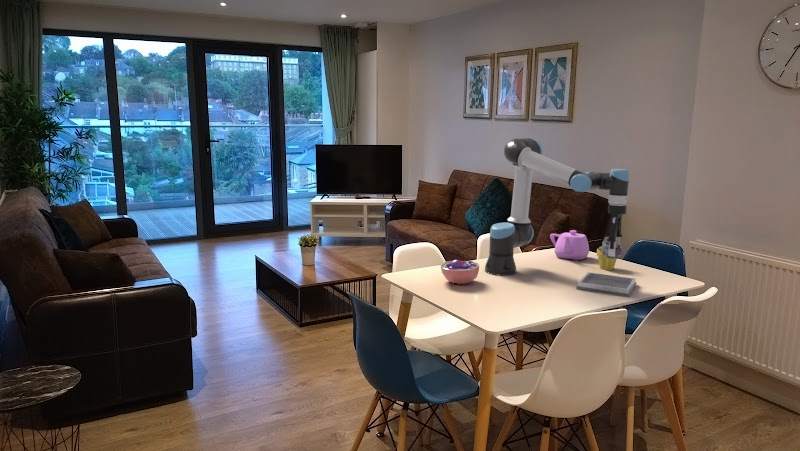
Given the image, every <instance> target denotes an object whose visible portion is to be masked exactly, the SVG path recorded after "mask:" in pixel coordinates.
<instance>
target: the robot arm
mask: <svg viewBox="0 0 800 451" xmlns="http://www.w3.org/2000/svg"><path fill="white" fill-rule="evenodd" d="M503 155H504V157H505V159H506V160H507V161H508V162H509V163H512V167H514V169H515V170H514V181H513V189H512V197H511V199H512V200H511V209H510V210H511V212H510V216H509V217H508V218H507V219H506V221H507V222H498V223H494V224H492V225H491V226H490V232H489V255H488V258H487V260H486V262H485V266H484V272H486V273H488V272H489V273H488V274H491V273H492V275H496V274H499V275H498V276H509V275H515V274H516V273H517V265H516V263H515V259H514V252H515V251H514V249H515V248H519V247H524V246H526V245H528V244H530V242H532V240H533V237H534V236H535V235H534V233H535V232H534V228H533V226H532V225H531V223H532V221H531V220H530V218H529V214H530V213H529V212H530V203H531V202H530V201H531V194H532V184H533V174H534V171H536V172H537V173H541V174H542V175H544V176H547V177H549V178H551V179H554V180H556V181H558V182H559V183H563V184H565V185H567V186H570V187H571V189H572V190H573V191H575V192H577V193H584V192H588V191H595V190H596V191H597V190H600V191H601V190H602V191H608V201H607V202H608V205H607V213H608V214H611V215H612V216H611V218H610V225H609V231H608V232H609V233H608V237H609V239H607V241H609V249H608V256H613V257H615V248H618V244H621V238H623V234H622V220H623V219H622V218H623V217H622V216H623V215H626V214H627V208H628V206H627V203H628V200H629V199H630V198H629V197H628V192H629V182H630V171H629V170H628V169H624V168H612V169H611V170H610V172H599V171H598V172H597V171H586V172H583V171H580V170H578V169H576V168H573V167H571V166H569V165H566V164H563V163H561V162H559V161H556V160H554V159H552V158H549V157H547V156H545V155H543V147H542V145H541V143H540V142H539V141H538V140H537V139H534V138H530V137H525V138H524V137H522V138H520V137H519V138H513V139H510V140H509V141H508V142H506V144H505V145H504V149H503ZM615 241H616V242H615Z"/></svg>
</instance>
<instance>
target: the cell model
mask: <svg viewBox="0 0 800 451" xmlns="http://www.w3.org/2000/svg"><path fill="white" fill-rule="evenodd" d="M439 267H440V269H441V273H442V275H443V276H444V278H445V279H446V280H447V281H448V282H450V283H451V282H452V284H454V283H457V284H456V285H464V284H469V283H470V282H472V281H473V280H475V279H477V277H478V276H479V271H480V264H479V263H478V262H475V261H473V260H470V259H469V260H459V259H454V260H449V261H444V262H443V263H442V264H441V265H440V266H439Z"/></svg>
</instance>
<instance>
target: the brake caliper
mask: <svg viewBox="0 0 800 451" xmlns="http://www.w3.org/2000/svg"><path fill="white" fill-rule="evenodd" d="M607 239H609V236H604V239H603V241H602V243H601V244H602V245H601V246H599V248H600V249H601V250H602V252H603V253H600V254H604V255H606V257H607V258H611V259H613V258H617V259H623V257H625V256H624V255H625V253H624V248H623V246H622V244H621V243H620V244H618V248H615V257H613V256H608V249H609V241H607ZM615 242H616V241H615Z"/></svg>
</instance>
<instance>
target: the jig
mask: <svg viewBox="0 0 800 451" xmlns="http://www.w3.org/2000/svg"><path fill="white" fill-rule="evenodd" d="M636 281H637V280H636V278H635V277H627V276H619V275H614V274H613V275H612V274H606V273H605V274H604V273H599V272H597V273H596V272H589V271H588V272H587V273H586V274H585V275H584V276H582V278H581V279H580V280H579V281H578V283H577V285H576V286H575V287H576V288H575V289H576V290H579V291H587V292H591V293H592V292H593V293H601V294H607V295H612V296H618V297H619V296H620V297H625V298H630V297H631V295H632V294H633V292H634V290H635V288H636V287H637V282H638V281H637V282H636ZM632 291H633V292H632Z"/></svg>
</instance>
